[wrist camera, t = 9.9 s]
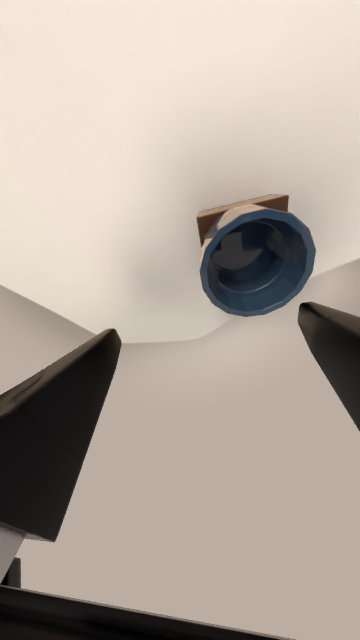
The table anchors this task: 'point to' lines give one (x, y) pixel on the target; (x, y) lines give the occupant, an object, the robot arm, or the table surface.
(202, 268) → the bowl
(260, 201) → the walnut block
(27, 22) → the table surface
